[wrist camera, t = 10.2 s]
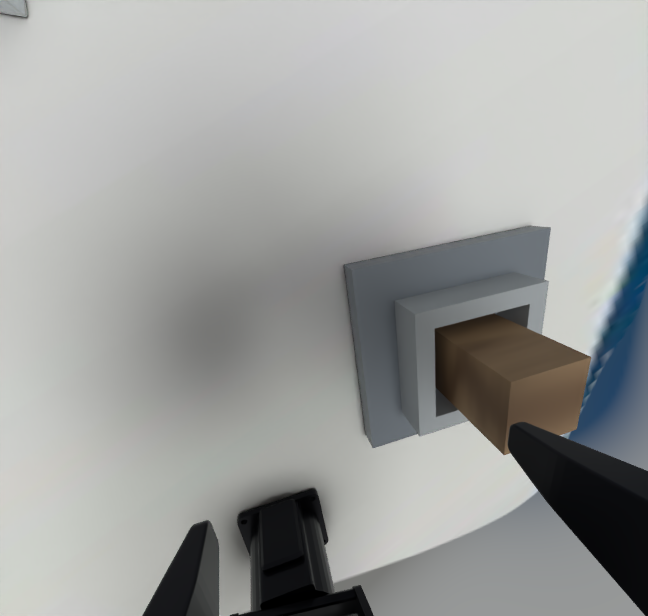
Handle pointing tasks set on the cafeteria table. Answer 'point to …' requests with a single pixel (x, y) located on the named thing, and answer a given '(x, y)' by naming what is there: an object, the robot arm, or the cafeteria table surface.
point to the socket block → (434, 319)
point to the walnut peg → (509, 377)
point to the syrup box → (13, 7)
